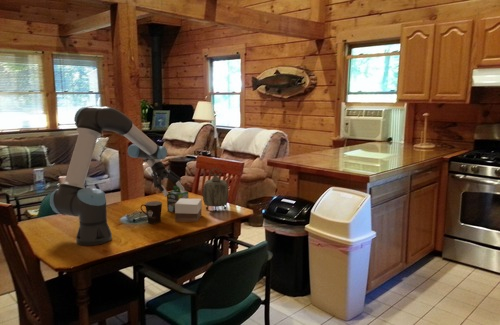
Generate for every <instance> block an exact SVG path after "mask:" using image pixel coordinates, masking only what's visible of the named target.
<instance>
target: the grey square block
mask: <svg viewBox="0 0 500 325" xmlns="http://www.w3.org/2000/svg"><path fill="white" fill-rule="evenodd" d="M201 217H202V208H201V209H200V211H199V212H198V214H186V213H174V222H181V223H182V222H183V223H185V222H186V223H187V222H188V223H189V222H190V223H191V222H192V223H198V222H199V220H200V218H201Z"/></svg>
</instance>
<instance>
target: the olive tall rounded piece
mask: <svg viewBox="0 0 500 325" xmlns="http://www.w3.org/2000/svg"><path fill="white" fill-rule="evenodd" d="M212 171H219V172H220V173H219V174H217V173H214V174H213V173H211V172H212ZM222 173H223V172H222V170H221V169H219V168H212V169H211V170H209V175H210V176H212V178H211V179H209V180H208V179H207V180H205V182H204V184H203V188H202V199H203V200H202V201H203V204H204V205H205V210H206V211H207V210H209V207H213V208H214V207H215V208H214V210H213V212H215V213H217V212H218V210H217V207H223V210H227V207H226V205H227V204H228V200H229V199H228V198H229V184H228V182H227V180H224V179H220V177H219V176H221V175H222Z"/></svg>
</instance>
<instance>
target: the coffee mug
mask: <svg viewBox="0 0 500 325" xmlns="http://www.w3.org/2000/svg"><path fill="white" fill-rule="evenodd" d="M143 206H144V207H145V211H144V210H143V208H142V207H143ZM162 206H163V202H162V201H160V200H159V201H158V200H154V201H153V200H151V201H147V202H145V204H141V205H140V207H139V208H140V211H142V213H143V214H145V215H146V217H147V223H149V224H159V223H160V222H161V221H162V220H161V218H162V208H163V207H162Z"/></svg>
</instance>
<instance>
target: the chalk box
mask: <svg viewBox="0 0 500 325" xmlns="http://www.w3.org/2000/svg"><path fill="white" fill-rule="evenodd" d="M167 192H168V195H167V196H166V204H167V207H166V208H167V212H170V213H174V214H175V203H176V202H177V201H178V200H179V199H180V198H184V199H190V198H189V191H188V190H185V189H184V190H180V188H179V187H178V186H177V185H173V190H171V191H167Z"/></svg>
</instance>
